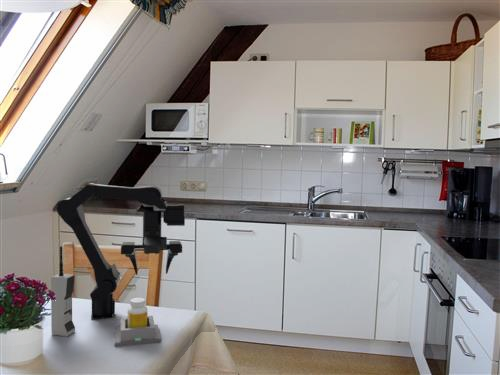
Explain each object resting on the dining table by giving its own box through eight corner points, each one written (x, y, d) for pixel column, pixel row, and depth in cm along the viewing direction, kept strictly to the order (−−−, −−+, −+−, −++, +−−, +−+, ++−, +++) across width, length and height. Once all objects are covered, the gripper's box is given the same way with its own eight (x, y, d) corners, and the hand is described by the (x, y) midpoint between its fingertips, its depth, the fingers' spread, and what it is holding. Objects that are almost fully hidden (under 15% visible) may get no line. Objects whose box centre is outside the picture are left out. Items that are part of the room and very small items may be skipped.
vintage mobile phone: (67, 337, 120) (66, 248, 118) (51, 335, 121) (50, 247, 119) (75, 331, 124) (74, 245, 122) (59, 329, 125) (59, 244, 123)
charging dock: (114, 346, 115) (114, 331, 114) (115, 331, 124) (115, 318, 124) (160, 342, 118) (160, 327, 118) (157, 327, 128) (157, 314, 127)
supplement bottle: (124, 332, 122) (124, 298, 121) (142, 327, 125) (142, 295, 124) (132, 338, 118) (132, 304, 117) (150, 334, 121) (150, 300, 120)
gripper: (119, 230, 127) (119, 282, 128) (183, 229, 131) (183, 280, 132) (122, 224, 137) (121, 272, 139) (181, 223, 142) (180, 270, 143)
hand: (151, 274), depth 138 cm, fingers open, 9 cm apart
